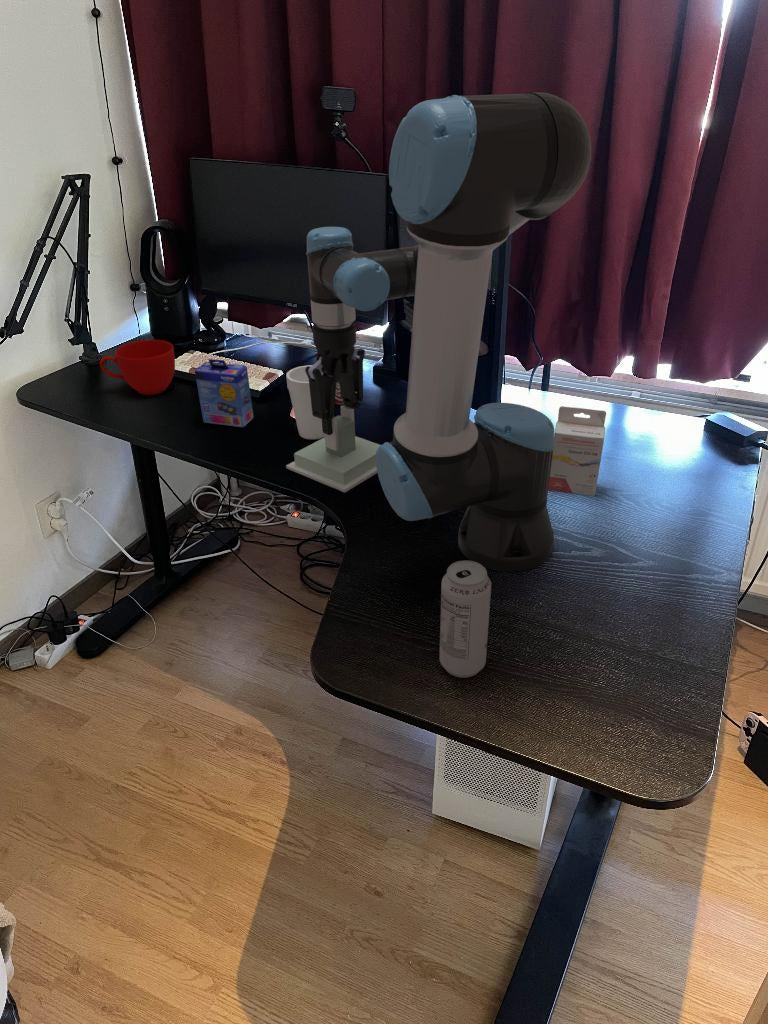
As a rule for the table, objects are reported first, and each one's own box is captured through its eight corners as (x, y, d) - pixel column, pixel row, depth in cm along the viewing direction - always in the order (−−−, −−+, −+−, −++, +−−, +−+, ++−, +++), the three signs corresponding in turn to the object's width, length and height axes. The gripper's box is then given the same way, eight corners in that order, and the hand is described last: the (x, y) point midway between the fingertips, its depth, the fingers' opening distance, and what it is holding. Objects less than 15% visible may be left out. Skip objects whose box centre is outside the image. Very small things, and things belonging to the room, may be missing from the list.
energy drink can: (494, 669, 97) (502, 577, 89) (456, 687, 95) (460, 593, 87) (467, 642, 102) (472, 552, 94) (430, 658, 99) (432, 567, 91)
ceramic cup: (110, 383, 182) (101, 343, 177) (181, 377, 185) (174, 337, 179) (103, 404, 171) (93, 362, 166) (179, 397, 174) (171, 356, 168)
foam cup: (339, 423, 161) (336, 365, 154) (333, 443, 153) (329, 383, 146) (296, 422, 162) (291, 364, 155) (287, 441, 154) (281, 382, 147)
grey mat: (396, 461, 146) (396, 458, 146) (344, 492, 136) (344, 489, 136) (338, 440, 154) (338, 437, 154) (286, 468, 144) (286, 465, 144)
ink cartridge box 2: (546, 491, 135) (555, 416, 127) (549, 477, 139) (557, 404, 132) (595, 497, 133) (607, 421, 125) (596, 483, 137) (608, 409, 129)
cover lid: (387, 459, 145) (386, 418, 141) (344, 485, 137) (341, 443, 133) (339, 441, 152) (336, 402, 148) (295, 465, 144) (291, 424, 140)
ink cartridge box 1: (201, 423, 162) (191, 359, 154) (213, 413, 166) (203, 350, 159) (243, 428, 160) (235, 363, 152) (254, 417, 164) (246, 354, 156)
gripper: (350, 306, 138) (355, 422, 150) (283, 331, 127) (294, 454, 139) (381, 314, 134) (384, 432, 146) (315, 340, 123) (324, 466, 135)
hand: (340, 443), depth 143 cm, fingers closed on cover lid, 4 cm apart
